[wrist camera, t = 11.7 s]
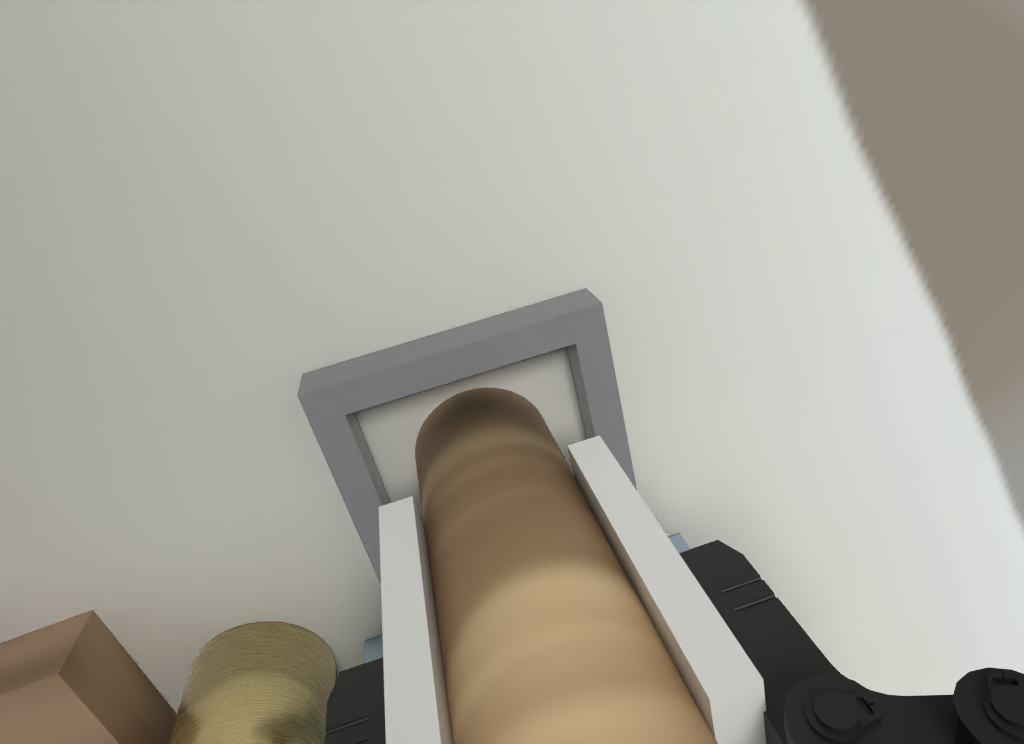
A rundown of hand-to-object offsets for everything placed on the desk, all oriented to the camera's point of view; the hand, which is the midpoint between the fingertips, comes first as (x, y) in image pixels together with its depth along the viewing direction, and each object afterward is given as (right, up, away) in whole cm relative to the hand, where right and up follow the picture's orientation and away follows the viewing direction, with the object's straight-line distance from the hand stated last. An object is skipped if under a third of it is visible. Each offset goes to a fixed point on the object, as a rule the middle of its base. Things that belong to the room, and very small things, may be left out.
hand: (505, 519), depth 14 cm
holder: (-1, +1, +3) cm, 3 cm away
